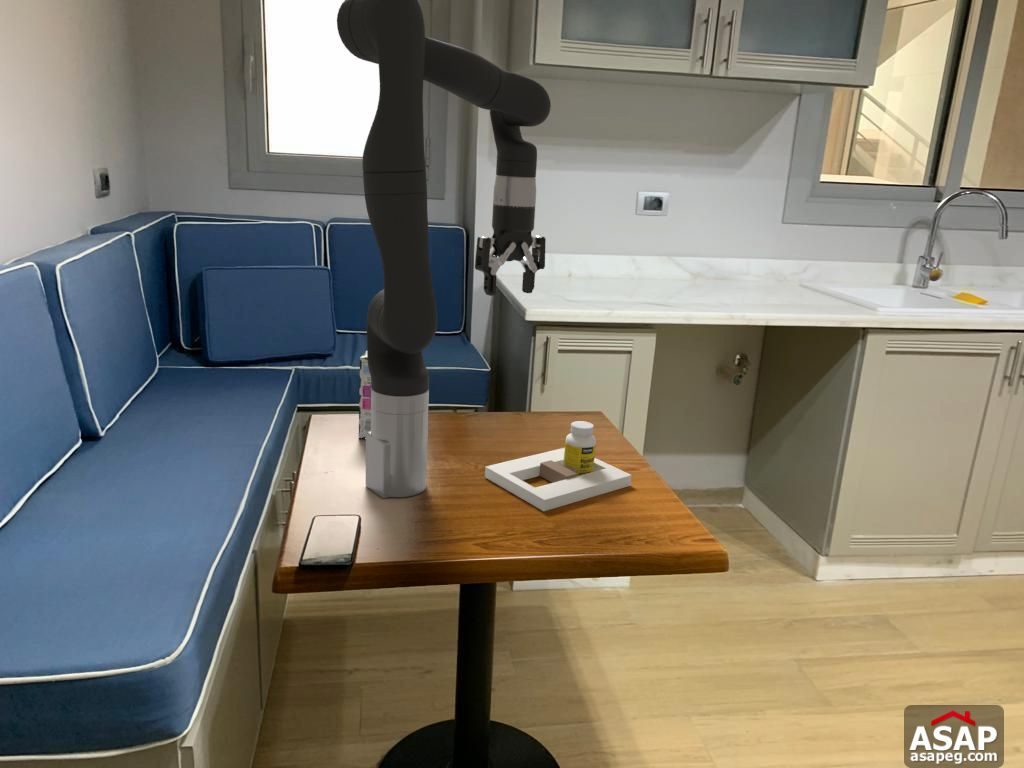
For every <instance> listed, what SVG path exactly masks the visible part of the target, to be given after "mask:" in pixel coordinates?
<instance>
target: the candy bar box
mask: <svg viewBox="0 0 1024 768" xmlns="http://www.w3.org/2000/svg"><path fill="white" fill-rule="evenodd" d="M358 389H359V396H358V398H359V399H358V400H359V402H358V437H359V438H366V433H367V432H369V431H371V375H370V372H369V368H368V359H367V350H366V351H365V352H364V353H363V354H362V355H361V356H360V357H359V388H358ZM359 438H358V439H359Z"/></svg>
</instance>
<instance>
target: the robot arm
mask: <svg viewBox="0 0 1024 768" xmlns="http://www.w3.org/2000/svg"><path fill="white" fill-rule="evenodd" d="M336 26H337V32H338V36H339V38H340V41H341V43H342V44H343V46H344V47H345V49H346V50H348V52H349V53H351V54H352V55H353V56H355V58H357V59H360V60H362V61H365V62H369V63H373V64H375V65H376V64H377V65H378V75H379V76H378V77H379V78H378V79H379V93H378V94H379V96H378V102H377V103H378V104H377V107H376V111H375V115H374V118H373V121H372V122H371V123H372V124H371V126H370V129H369V132H368V135H367V138H366V142H365V144H364V149H363V153H362V163H361V164H362V178H363V179H362V180H363V191H364V192H363V193H364V201H365V207H366V212H367V216H368V220H369V222H370V226H371V227H370V228H371V229H372V233H373V235H374V239H375V241H376V245H377V248H378V251H379V255H380V258H381V263H382V272H383V289H382V290H380V291H378V293H377V294H375V295H374V297H373V298H372V299H371V301H370V303H369V306H368V310H367V314H366V315H367V316H366V351H367V359H368V368H369V372H370V375H371V431H369V432H367V433H366V439H365V487H367V488H368V489H370V490H371V491H372V492H374V493H375V494H377V495H378V496H379V497H381V499H387V498H408V497H413V496H416V495H418V494H421V493H422V492H424V491H425V490H426V489H427V488H426V487H427V475H428V474H427V467H428V466H427V465H428V463H427V461H428V459H427V458H428V431H429V430H428V429H429V427H428V425H429V397H430V396H429V395H430V394H429V393H430V374H429V371H428V368H427V366H426V364H425V361H424V356H423V350H425V349H426V348H427V347H428V346H429V345H430V344H431V343H432V341H433V340H434V338H435V336H436V332H437V330H438V321H439V320H438V311H437V303H436V298H435V293H434V292H435V291H434V286H433V279H432V278H433V277H432V273H431V272H432V271H431V265H430V264H431V262H430V249H429V248H430V247H429V246H430V241H429V240H430V238H429V220H428V219H429V217H428V216H429V215H428V214H429V213H428V183H427V182H428V181H427V167H426V166H427V165H426V156H425V136H424V135H425V134H424V133H425V132H424V131H425V130H424V98H423V97H424V81H425V82H428V83H430V84H432V85H434V86H437V87H438V88H441V89H443V90H445V91H447V92H448V93H451V94H453V95H455V96H457V97H458V98H461V99H462V100H464V101H466V102H468V103H470V104H472V105H473V106H476V107H477V108H481V109H483V110H487V111H488V110H489V115H490V121H491V123H490V124H491V127H492V131H493V132H492V133H493V138H494V142H495V148H496V165H495V166H496V170H495V180H494V185H493V195H492V197H493V198H492V214H491V215H492V220H491V221H492V222H491V227H492V229H493V230H492V231H493V234H492V236H491V237H488V236H483V235H479V236H477V240H476V247H475V248H476V249H475V250H476V251H475V261H474V269H475V270H477V271H479V272H482V273H483V275H484V276H483V292H485V295H487V296H490V297H494V296H496V293H497V292H496V291H497V275H496V274H497V272H498V271H499V269H500V268H501V267H502V266H504V265H505V263H506V262H513V261H517V262H519V263H520V264H521V266H522V269H524V271H523V272H522V285H521V286H522V288H521V291H522V292H523V293H525V294H532V293H533V290H534V289H535V280H536V273H537V272H538V271H539V270H544V269H545V267H546V237H545V236H541V235H536V234H535V235H533V236H532V232H533V231H534V229H535V218H536V205H537V204H536V203H537V202H536V201H537V185H536V184H537V183H536V181H537V180H536V177H537V167H538V166H537V164H538V163H537V162H538V148H537V147H536V145H535V144H533V143H532V142H530V141H528V140H525V139H524V138H523V136H522V135H523V134H522V132H521V128H520V127H526V128H527V127H536V126H539V125H541V124H543V123H544V122H545V121H546V120H547V118H549V115H550V113H551V104H552V103H551V98H550V95H549V93H548V92H547V90H546V89H545V88H544V86H543V85H541V84H540V83H539V82H537V81H535V80H534V79H531V78H529V77H526V76H523V75H521V74H517V73H516V72H515V73H514V72H511V71H508V70H505V69H503V68H501V67H499V66H498V65H497V64H495V63H493V62H492V61H490V60H488V59H487V58H485V57H483V56H481V55H480V54H478V53H476V52H474V51H472V50H470V49H467V48H464V47H461V46H458V45H454V44H451V43H448V42H444V41H441V40H439V39H438V40H437V39H435V38H432V37H429V36H426V28H425V19H424V15H423V11H422V7H421V5H420V2H419V0H344V1H342V3H341V5H340V7H339V8H338V12H337V17H336ZM492 248H493V250H491V249H492ZM530 248H531V251H530Z"/></svg>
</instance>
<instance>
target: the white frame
mask: <svg viewBox="0 0 1024 768" xmlns="http://www.w3.org/2000/svg"><path fill="white" fill-rule="evenodd" d="M564 452H565V447H561V448H557V449H553V450H549V451H544V452H542V453H541V452H540V453H536V454H532V455H528V456H525V457H520V458H516V459H510V460H506V461H502V462H499V463H495V464H490V465H486V466H485V467H484V468H485V469H484V478H485V479H488V480H489V481H490V482H492V483H494V484H496V485H498V486H499V487H501V488H503V489H505V490H506V491H508V492H510V493H511V494H514V495H515V496H516V497H518V498H519V499H522V500H524V501H525V502H527V503H529V504H530V505H532V506H534V507H535V508H537V509H539V510H540V511H542V512H547V511H550V510H553V509H556V508H557V509H558V508H561V507H563V506H567V505H570V504H573V503H576V502H580V501H583V500H586V499H590V498H593V497H597V496H601V495H603V494H606V493H610V492H611V493H612V492H613V491H616V490H617V491H618V490H620V489H623V488H626V487H630V486H631V484H632V474H630V473H628V472H626V471H624V470H622V469H621V468H617V467H615V466H613V465H611V464H609V463H607V462H605V461H602V460H600V459H598V458H596V457H595V458H594V467H593V472H591V473H587V474H584V475H580V476H577V474H578V473H576V472H574V471H572V470H570V469H568V468H566V467H564V466H563V462H564ZM536 477H537V478H538V477H540V478H543V479H544V480H546V481H549V482H550V483H548V484H544V485H540V486H536V487H534V486H533V485H531V484H529V483H528V482H526V480H529V479H533V478H536Z"/></svg>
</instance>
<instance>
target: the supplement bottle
mask: <svg viewBox="0 0 1024 768" xmlns="http://www.w3.org/2000/svg"><path fill="white" fill-rule="evenodd" d="M594 427H595V425H594V424H593V423H591V422H588V421H586V420H585V421H582V420H578V421H573V422H571V424H570V432H571V433H568V434H567V435H566V438H565V442H564V443H565V444H564V448H565V452H564V462H563V466H564V467H566V468H568V469H570V470H572V471H574V472H576V473H578V474H577V476H580V475H584V474H587V473H591V472H593V467H594V458H596V457H595V455H596V447H597V439H596V437H595V436H594Z"/></svg>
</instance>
